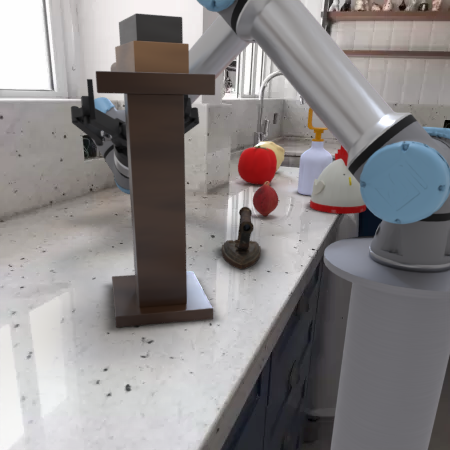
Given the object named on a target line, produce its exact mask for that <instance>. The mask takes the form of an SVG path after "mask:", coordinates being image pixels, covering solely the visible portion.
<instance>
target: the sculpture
mask: <svg viewBox="0 0 450 450" xmlns="http://www.w3.org/2000/svg"><path fill="white" fill-rule="evenodd" d="M258 145H260V147H266V148H269V149H272V150H273V151H274V152H275V155H276V159H277V168H276V172H278V170H279V169H280V167H281V165H282V163H283V162H284V160H285V153H286V150H285V148H284V147H282V146H280V145H278V144H277V143H275V142H274V141H268V140H266V141H259V143H258V144H255V145H254V146H253V147H255V146H256V147H258Z"/></svg>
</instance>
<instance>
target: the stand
mask: <svg viewBox="0 0 450 450" xmlns="http://www.w3.org/2000/svg"><path fill="white" fill-rule="evenodd" d="M95 84H96V85H95V87H96V93H97V94H120V95H122V94H123V103H124V110H125V119H126V136H127V152H128V169H129V185H130V194H129V201H130V202H129V203H130V215H131V216H130V217H131V230H132V231H131V232H132V249H133V250H132V251H133V265H134V266H133V267H134V274H130V275H129V274H127V275H114V276H111V283H112V285H111V286H112V295H113V296H112V297H113V306H114V319H115V328H128V327H137V326H149V325H150V326H151V325H159V324H170V323H171V324H172V323H181V322H193V321H206V320H213V319H214V307H213V305H212V303H211V301H210V300H209V298H208V296H207V294H206V292H205V291H204V289H203V287H202V285H201V283H200V281H199V278H198V277H197V276H196V274H195V272H194V271H193V270H191V271H190V270H188V271H187V220H186V219H187V218H186V216H187V215H186V213H187V212H186V157H185V155H186V150H185V149H186V147H185V134H184V95H200V96H216V79H215V74H191V73H154V72H118V71H111V70H95Z"/></svg>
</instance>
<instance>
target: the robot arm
mask: <svg viewBox="0 0 450 450" xmlns="http://www.w3.org/2000/svg"><path fill="white" fill-rule="evenodd" d="M196 2H197V3H198V4H199V5H201V6H202V7H204V8H205V9H206V10H207V11H209V12H211V13H212V12H213V13H217V14H218V15H217V16H216V18H215V19H214V20H213V22H212V23H211V24H210V25H209V26H208V27H207V29H205V31H204V32H203V33H202V35H201V36H200V37H199V38H198V39H197V40H196V41H195V43H194V44H193V45H192V46H191V47H190V48H189V73H191V74H215V80H217V79H218V78H219V76H221V74H222V73H223V72H224V71H225V70H226V69H227V68H228V67H230V65H231V64H232V63H233V62H234V61H235V60H236V59H237V58H238V57H239V56H240V55H241V54H242V53H243V51H244V50H245V49H246V48H247V47H248V46H249V45H250V44H257V45H258V47H259V48H260V49H261V50H262V52H263V53H265V55H266V56H267V57H268V59H269V60H270V61H271V62H272V63H273V64H274V66H275V67H276V68H277V69H278V71H279V72H280V73H281V74H282V75H283V77H284V78H285V79H286V80H287V81H288V83H289V85H291V86H292V88H293V89H294V90H295V91H296V93H298V95H299V96H300V97H301V99H303V101H304V102H305V103H306V104H307V105H308V107H309V108H311V109H312V110H313V114H315V115H316V116H317V118H318V119H319V120H320V122H321V123H322V124H323V125H324V126H325V128H328V130H327V131H329V132H330V133H331V135H332V136H333V137H334V138H335V139H336V140H337V142H338V143H339V144H340V146H341V145H342V146H343V148H344V149H345V150H346V151H347V152H348V161H347V168H348V170H349V171H350V172H351V174H352V175H353V176H354V177H355V178H356V180H357V181H358V182H359V183H360V192H361V196H362V199H363V201H364V203H365V205H366V209H368V210H369V211H370V213H372V214H373V215H374V216H375V217H377V218H378V219H380V220H382V221H381V222H380V223H379V224H378V226H377V229H376V231H375V234H374V235H373V236H374V238H373V240H372V242H371V245H370V249H369V257H370V258H371V259H372V260H373V261H375V262H377V263H379V264H381V265H384V266H387V267H390V268H394V269H398V270H403V271H410V272H420V273H436V272H444V271H448V270H450V128H449V127H448V128H447V127H436V126H422V124H421V123H420V122H419V121H418V119H416V117H415V116H414V115H413V114H412V112H397V111H394V110H393V108H392V107H391V106H390V105H389V104H388V102H386V100H385V99H384V98H383V96H382V95H381V94H380V93H379V92H378V91H377V89H376V88H375V87H374V86H373V85H372V83H370V81H369V80H368V78H366V76H365V75H364V74H363V73H362V72H361V71H360V69H359V68H358V67H357V66H356V65H355V63H354V62H353V61H352V60H351V58H349V56H348V55H347V54H346V53H345V52H344V50H343V49H342V48H341V47H340V46H339V45H338V43H337V42H336V41H335V40H334V38H333V37H332V36H331V35H330V34H329V32H328V31H327V30H326V29H325V28H324V27H323V25H322V24H321V23H320V22H319V21H318V19H316V17H315V16H314V15H313V13H311V12H310V10H309V9H308V8H307V7H306V5H305V4H304V3H303V2H302V1H301V0H196ZM93 81H94V80H93V79H92V78H87V79H86V85H87V86H86V88H87V95H81V97H80V105H81V107H79V106H77V105H72V106H71V107H70V115H71V116H70V118H71V124H73V125H74V126H75V127H77V128H78V129H79V130H80V131H82V132H83V133H84V134H85V135H87V136H88V137H89V138H91V140H92V141H93V143H94V145H95V147H96V148H97V150H98V151H99V153H100V155H101V156H102V157H103V159H104V161H105V164H107V166H108V167H109V169H110V171H111V172H112V174H113V178H114V179H113V180H114V182H115V185H116V186H117V188H118V189H119V190H120V191H121V192H122V193H123V194H126V195H130V185H129V169H128V152H127V136H126V119H125V109H117V108H116V105H115V104H114V103H112V101H111V100H110V98H107V97H103V96H102V97H101V96H100V97H96V98H95V91H94V82H93ZM200 97H201V95H184V135H186V134H187V133H188V132H190V131H191V130H192V129H194V128H195V127H197V126H198V125H199V124H200V114H199V107H195V106H194V107H193V104H194V103H195V102H196V101H197V99H198V98H200Z"/></svg>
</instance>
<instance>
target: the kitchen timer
mask: <svg viewBox="0 0 450 450" xmlns="http://www.w3.org/2000/svg"><path fill="white" fill-rule="evenodd" d="M347 161H348V152H347V151H346V150H345V149H344V148H343V146H342V145H341V144H340V148H338V149H337V153H334V161H332V163H330V164H329V165H328V166H327V167H326V168H325V169H324V170H323V171H322V173H321V174H320V176H319V177H318V179H315V180H314V184H313V192H312V195H311V196H310V201H309V207H310V208H311V209H312V210H315V211H318V212H322V213H328V214H338V215H339V214H341V215H349V214H350V215H351V214H353V215H354V214H360V213H364V212H365V211H366V210H367V206H366V205H365V203H364V201H363V199H362V196H361V192H360V183H359V182H358V181H357V180H356V178H355V177H354V176H353V175H352V174H351V172H350V171H349V170H348V168H347Z"/></svg>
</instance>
